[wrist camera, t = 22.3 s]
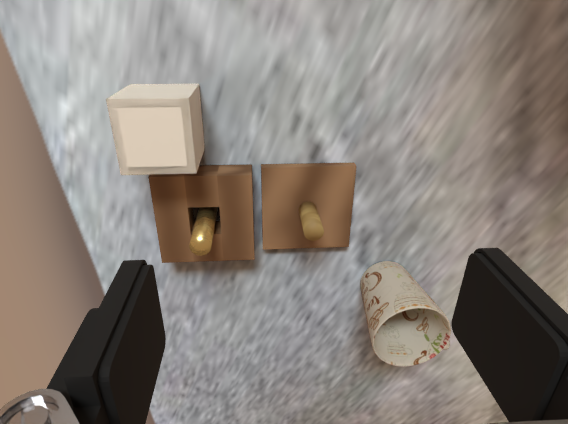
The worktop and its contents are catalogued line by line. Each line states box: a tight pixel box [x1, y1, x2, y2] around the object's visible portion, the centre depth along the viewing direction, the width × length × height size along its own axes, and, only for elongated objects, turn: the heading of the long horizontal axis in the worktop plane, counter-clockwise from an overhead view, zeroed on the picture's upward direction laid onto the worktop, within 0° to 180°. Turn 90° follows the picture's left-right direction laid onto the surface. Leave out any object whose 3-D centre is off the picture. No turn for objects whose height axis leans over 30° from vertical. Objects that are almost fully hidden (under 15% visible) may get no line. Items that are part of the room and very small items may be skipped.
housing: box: [106, 84, 205, 175], centre depth 36 cm, size 6×6×7 cm
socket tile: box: [149, 165, 254, 263], centre depth 42 cm, size 10×10×3 cm
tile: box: [261, 163, 356, 249], centre depth 42 cm, size 10×10×6 cm
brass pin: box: [189, 207, 218, 256], centre depth 40 cm, size 2×2×8 cm
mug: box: [360, 261, 451, 366], centre depth 46 cm, size 8×13×10 cm, turn 58°
